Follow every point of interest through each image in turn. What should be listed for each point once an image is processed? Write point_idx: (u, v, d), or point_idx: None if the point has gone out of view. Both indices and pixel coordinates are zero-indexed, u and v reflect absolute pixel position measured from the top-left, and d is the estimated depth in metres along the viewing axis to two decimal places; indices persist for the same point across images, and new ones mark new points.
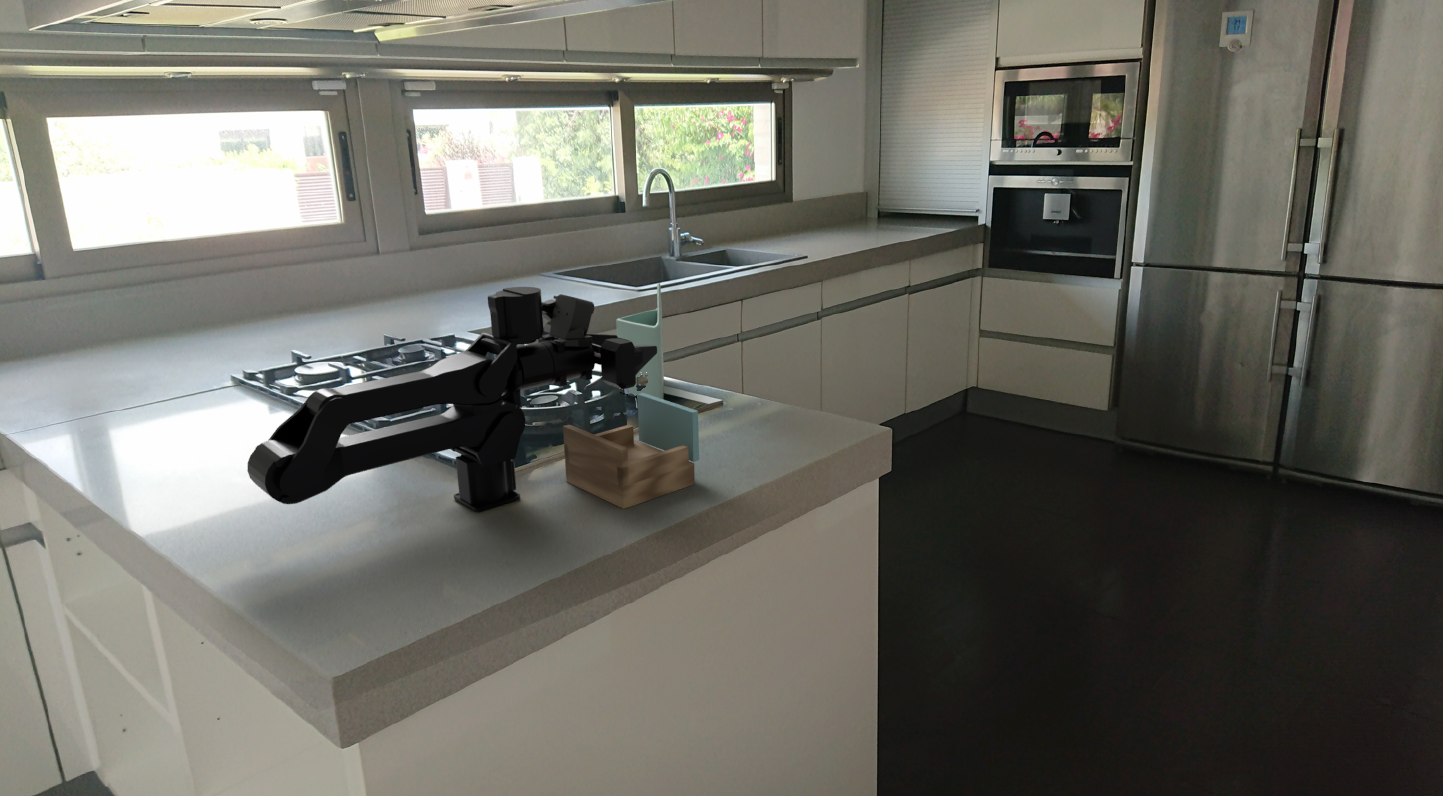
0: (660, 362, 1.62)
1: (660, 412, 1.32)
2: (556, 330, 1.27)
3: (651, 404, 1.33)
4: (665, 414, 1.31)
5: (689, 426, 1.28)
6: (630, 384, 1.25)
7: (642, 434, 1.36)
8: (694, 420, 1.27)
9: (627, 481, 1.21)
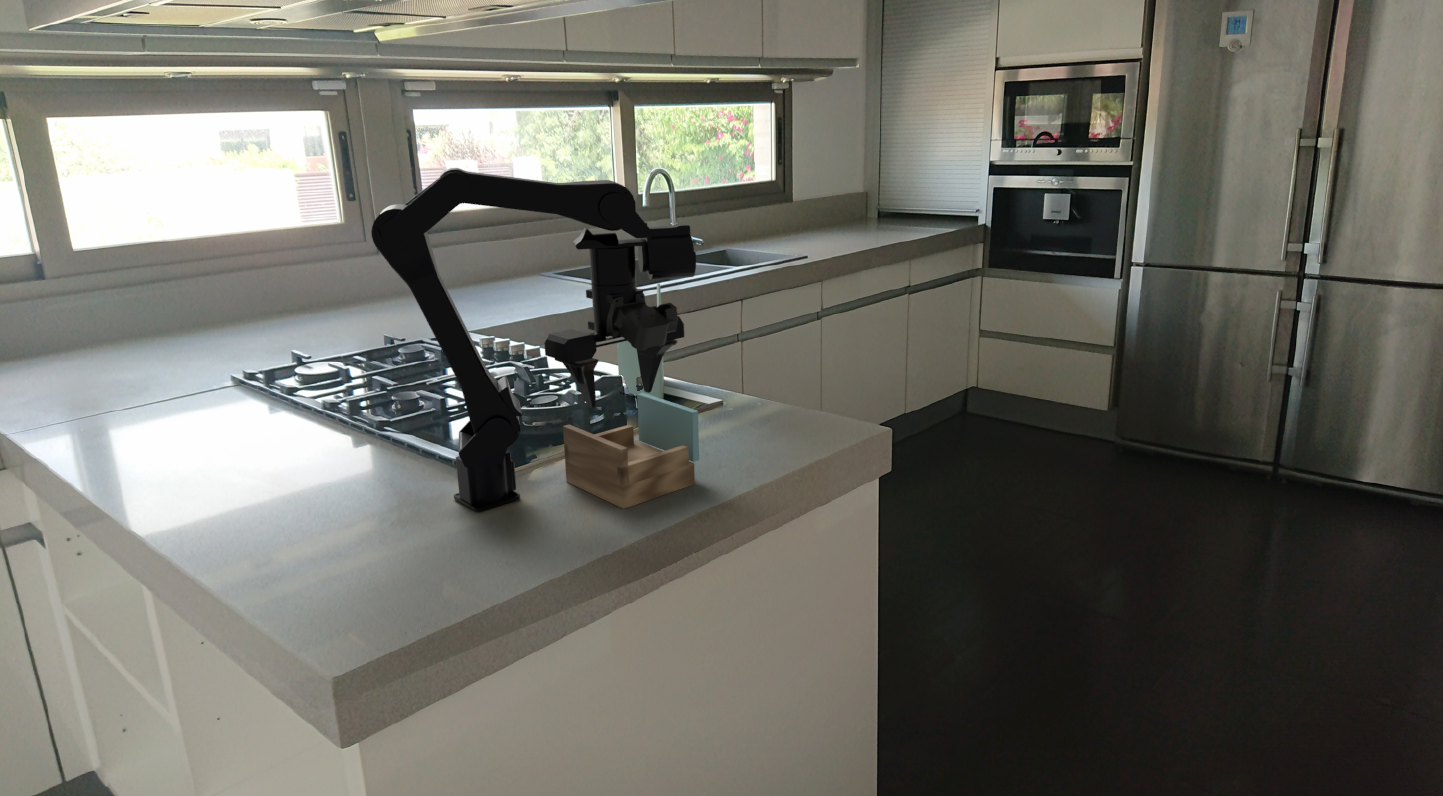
0: (660, 362, 1.62)
1: (660, 412, 1.32)
2: (636, 307, 1.19)
3: (651, 404, 1.33)
4: (665, 414, 1.31)
5: (689, 426, 1.28)
6: (545, 348, 1.19)
7: (642, 434, 1.36)
8: (694, 420, 1.27)
9: (627, 481, 1.21)
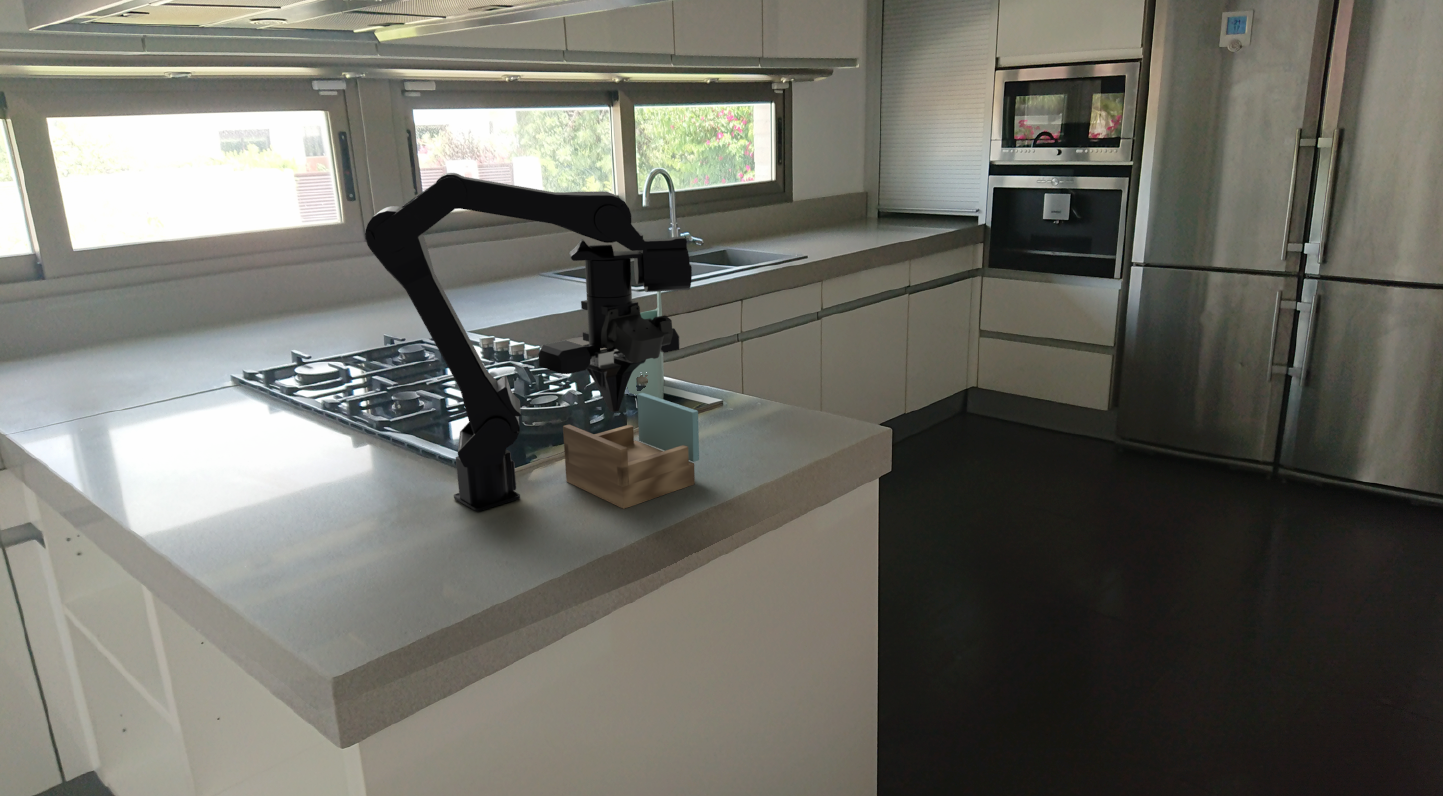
0: (660, 362, 1.62)
1: (660, 412, 1.32)
2: (631, 319, 1.19)
3: (651, 404, 1.33)
4: (665, 414, 1.31)
5: (689, 426, 1.28)
6: None
7: (642, 434, 1.36)
8: (694, 420, 1.27)
9: (627, 481, 1.21)
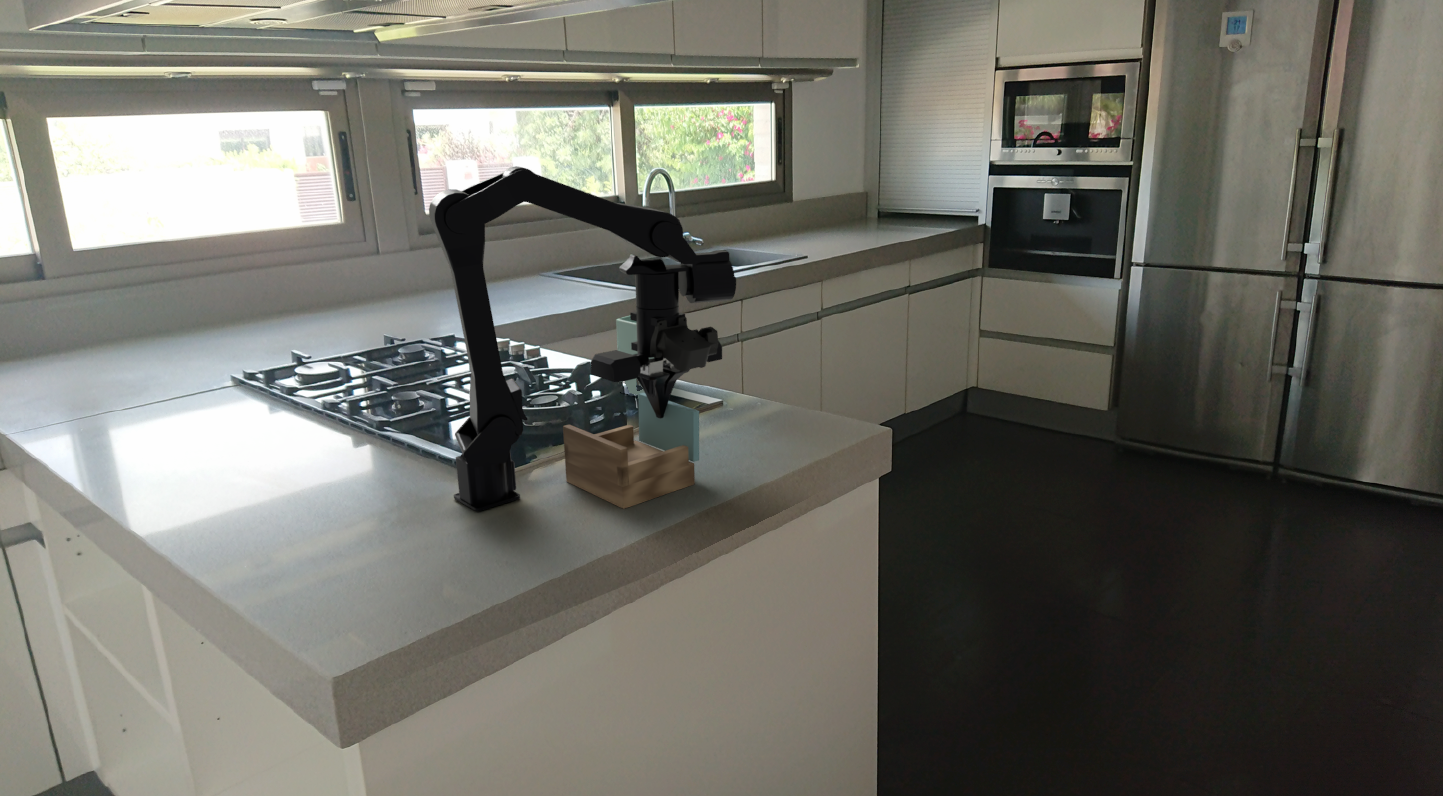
0: None
1: None
2: (679, 330, 1.25)
3: None
4: (666, 414, 1.31)
5: (690, 426, 1.28)
6: None
7: (643, 434, 1.36)
8: (695, 420, 1.27)
9: (627, 481, 1.21)
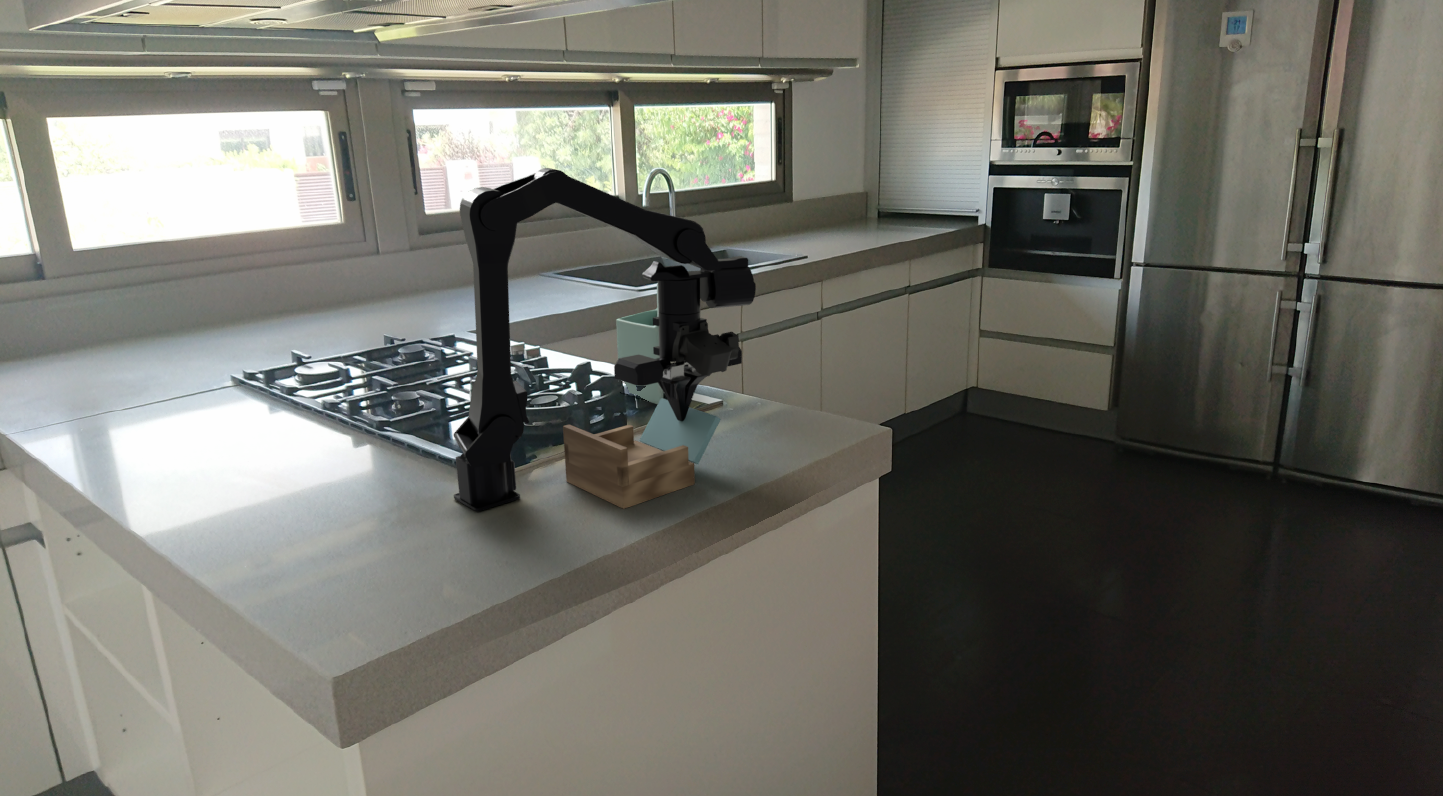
0: None
1: None
2: (700, 335, 1.27)
3: None
4: None
5: (706, 429, 1.30)
6: (614, 371, 1.27)
7: (647, 434, 1.37)
8: (714, 424, 1.30)
9: (627, 481, 1.21)
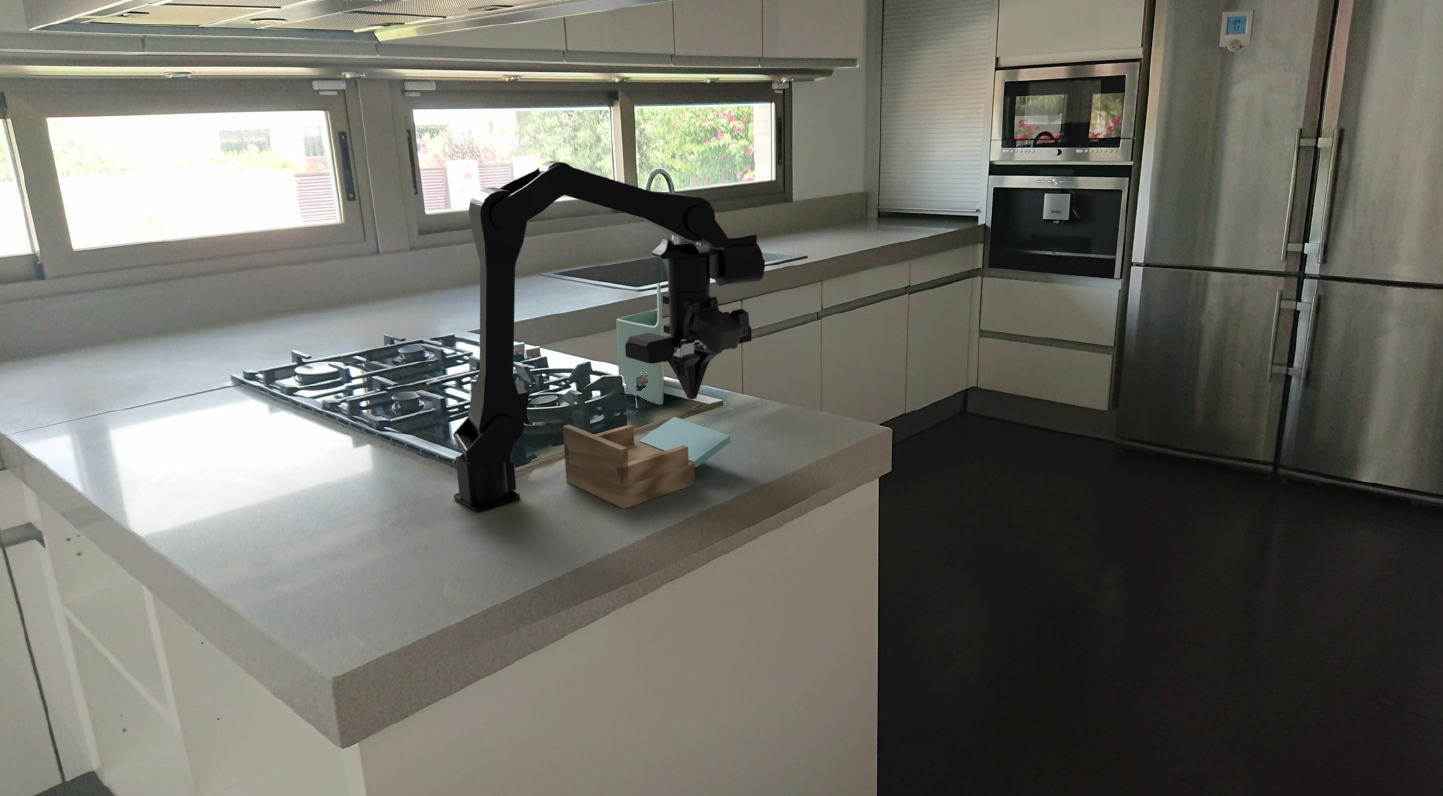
0: (660, 362, 1.62)
1: (689, 430, 1.36)
2: (711, 312, 1.28)
3: (683, 424, 1.38)
4: (694, 431, 1.35)
5: (715, 442, 1.32)
6: (625, 350, 1.27)
7: (649, 438, 1.37)
8: (724, 442, 1.32)
9: (627, 481, 1.21)
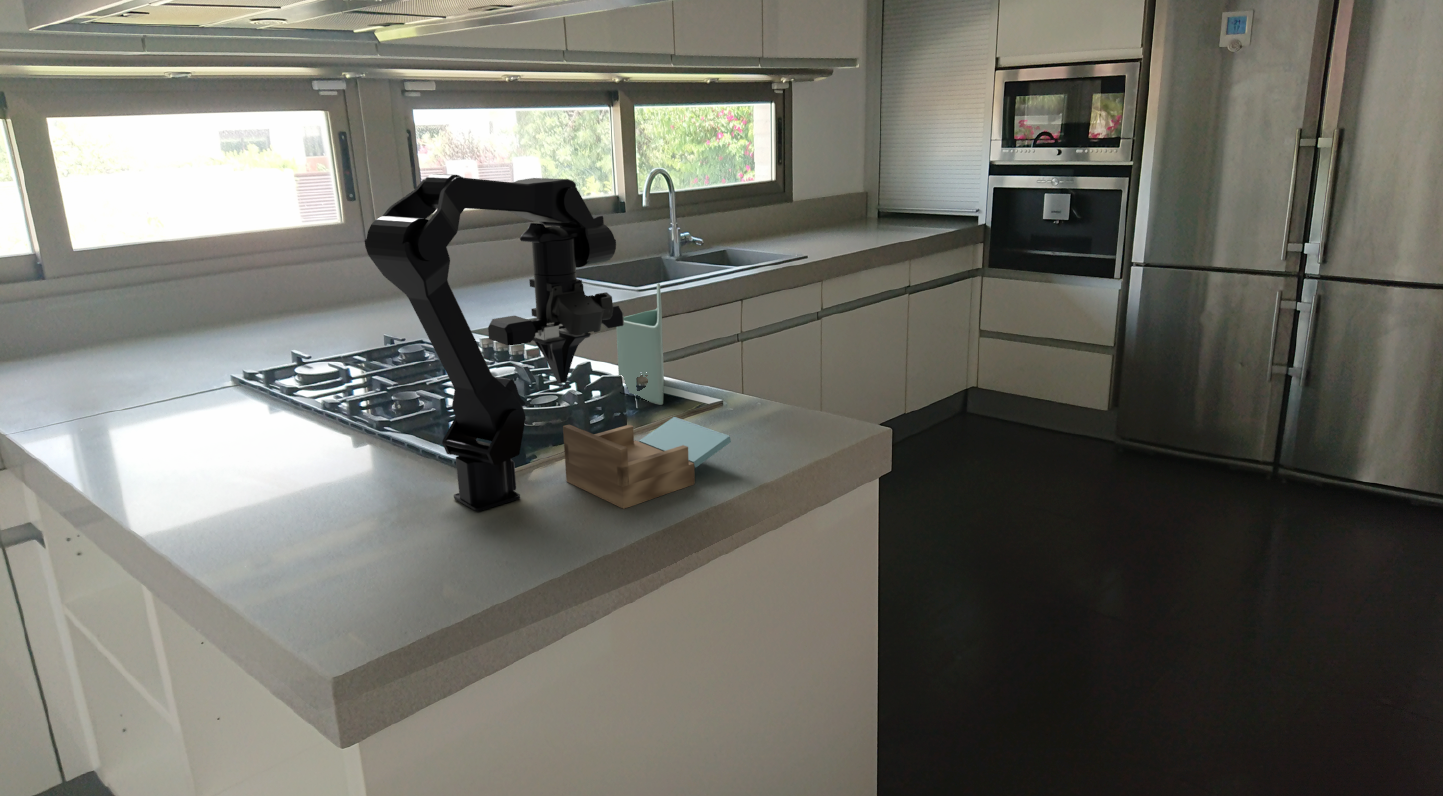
0: (660, 362, 1.62)
1: (689, 430, 1.36)
2: (574, 295, 1.28)
3: (683, 424, 1.38)
4: (694, 431, 1.35)
5: (715, 442, 1.32)
6: None
7: (649, 438, 1.37)
8: (724, 442, 1.32)
9: (627, 481, 1.21)
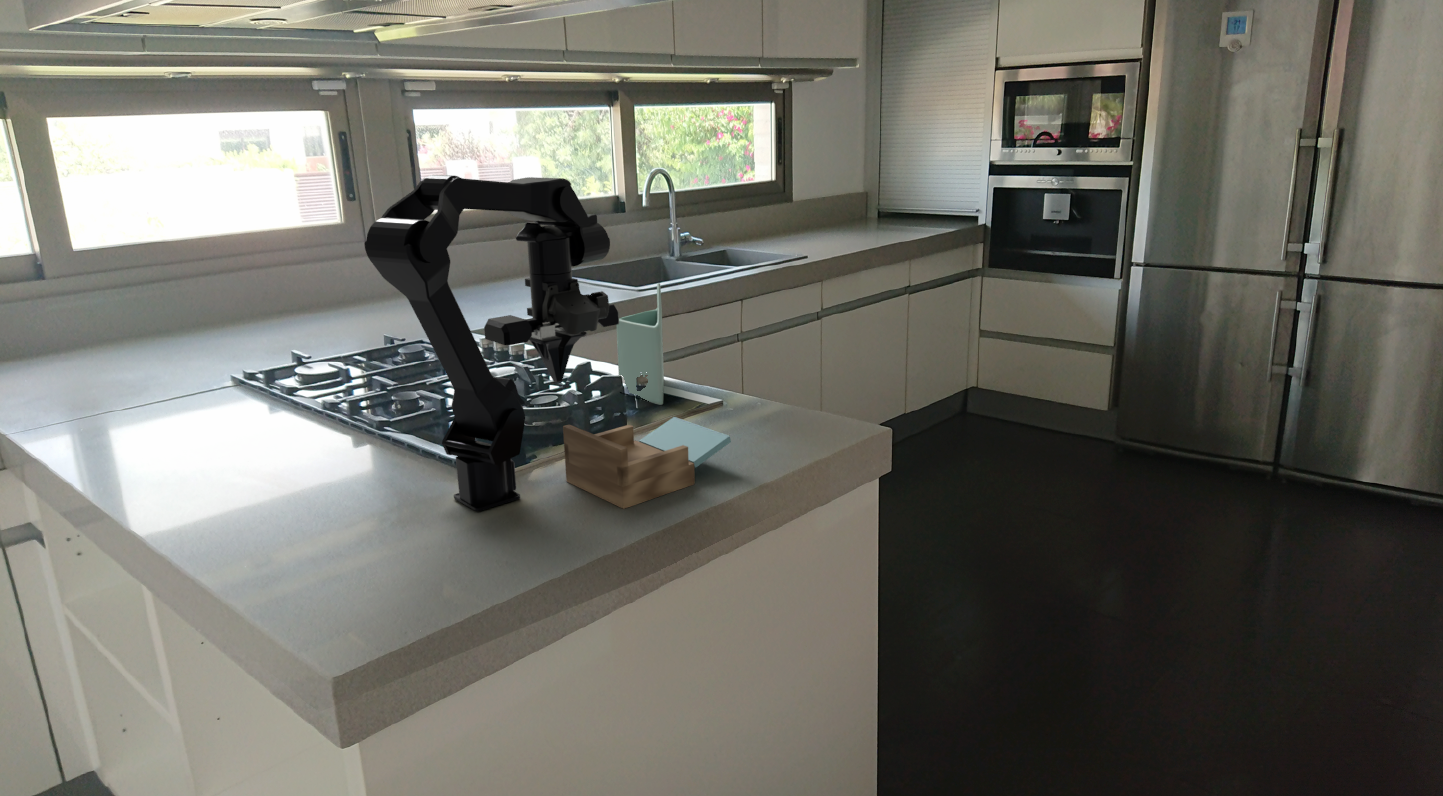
0: (660, 362, 1.62)
1: (689, 430, 1.36)
2: (570, 294, 1.28)
3: (683, 424, 1.38)
4: (694, 431, 1.35)
5: (715, 442, 1.32)
6: None
7: (649, 438, 1.37)
8: (724, 442, 1.32)
9: (627, 481, 1.21)
